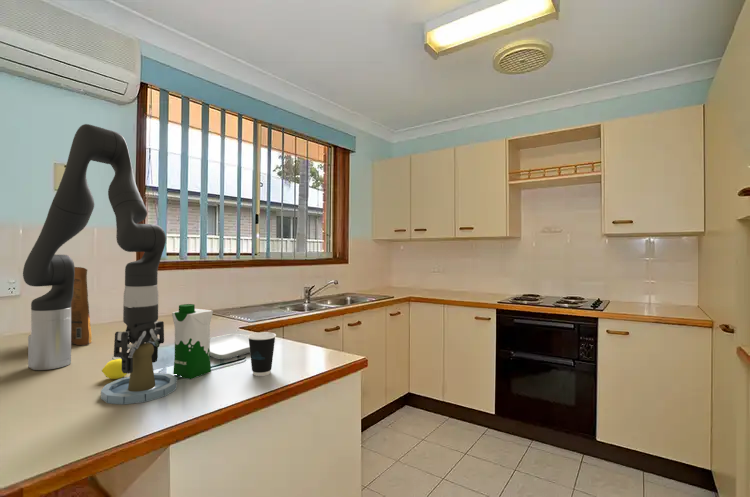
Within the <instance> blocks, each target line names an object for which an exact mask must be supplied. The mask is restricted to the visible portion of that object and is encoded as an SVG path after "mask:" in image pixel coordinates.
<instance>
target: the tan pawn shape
mask: <svg viewBox="0 0 750 497" xmlns="http://www.w3.org/2000/svg"><path fill="white" fill-rule="evenodd" d="M153 352H154V347H153V345H152V344H150V343H143V344H141V345H139V347H138V349H136V350H135V352H134V354H133V356H132V358H133V372H132V373H129V376H130V379H129V385H128V390H129V391H133V392H137V391H145V390H149V389H151V388H153V387H155V386H156V385H155V378H154V373H155V371H154V366H153V364H154V363H153V362H152V357H151V356H152V354H153Z"/></svg>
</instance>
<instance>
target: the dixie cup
mask: <svg viewBox="0 0 750 497" xmlns="http://www.w3.org/2000/svg"><path fill="white" fill-rule="evenodd" d="M247 336H248V338H249V346H250V353H249V354H250V355H249V356H250V364H251V366H250V367H251V371H252V375H254V376H257V377H264V376H268V375H269V374H271V370H272V367H273V357H274V351H275V350H274V349H275V344H276V343H275V342H276V337H277V334H276V333H274V332H267V331H266V332H264V331H263V332H254V333H250V334H248V335H247Z"/></svg>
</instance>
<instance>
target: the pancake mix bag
mask: <svg viewBox="0 0 750 497" xmlns="http://www.w3.org/2000/svg"><path fill="white" fill-rule="evenodd" d="M74 267H75V276H74V291H73V299H72V302H71V344H74V345H76V346H87V345H90V344H91V343H92V339H93V338H92V328H91V317H90V304H89V291H88V269H87V268H85V267H81V266H74Z"/></svg>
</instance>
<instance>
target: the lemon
mask: <svg viewBox="0 0 750 497" xmlns="http://www.w3.org/2000/svg"><path fill="white" fill-rule="evenodd" d="M101 372H102V373H103V374H104V376H105V377H106V378H108V379H110V380H118V379H121V378H125V377H127V375H129V374H128V373H123V372H122V359H121V358H116V359H112V360H109V361H108V362H107V363H106V364H105V365H104V366H103V368H102V369H101Z"/></svg>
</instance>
